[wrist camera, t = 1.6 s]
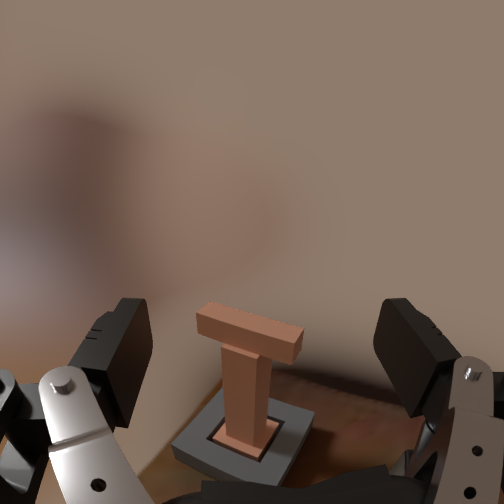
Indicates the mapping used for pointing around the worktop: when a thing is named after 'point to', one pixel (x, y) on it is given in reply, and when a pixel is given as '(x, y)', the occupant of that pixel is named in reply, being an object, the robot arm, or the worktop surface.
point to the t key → (248, 373)
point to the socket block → (237, 466)
